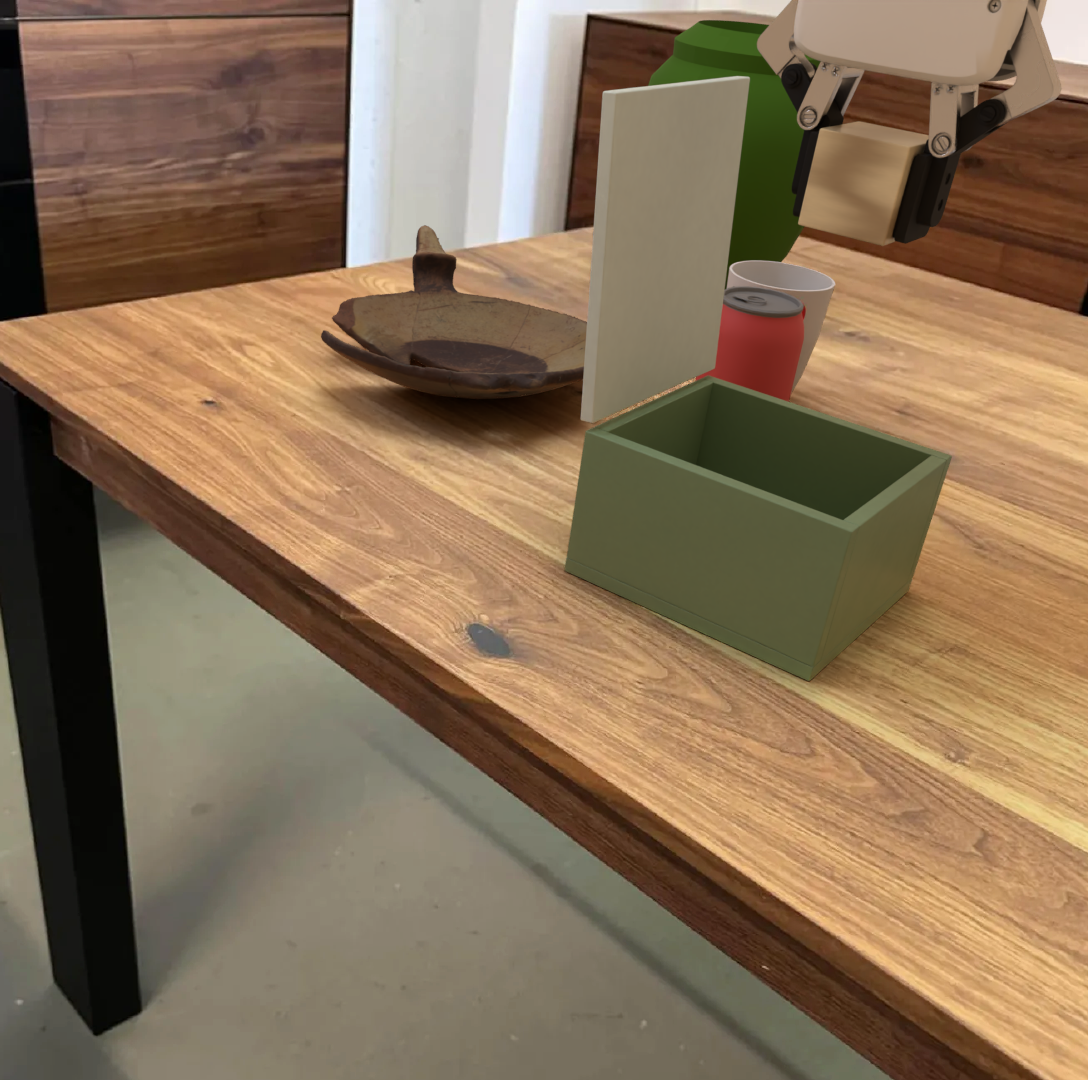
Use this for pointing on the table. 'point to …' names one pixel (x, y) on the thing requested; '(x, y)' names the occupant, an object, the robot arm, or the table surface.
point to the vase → (749, 134)
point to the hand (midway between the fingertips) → (859, 221)
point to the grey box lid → (660, 237)
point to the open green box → (753, 519)
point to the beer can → (759, 340)
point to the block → (859, 180)
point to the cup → (793, 281)
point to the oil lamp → (459, 336)
